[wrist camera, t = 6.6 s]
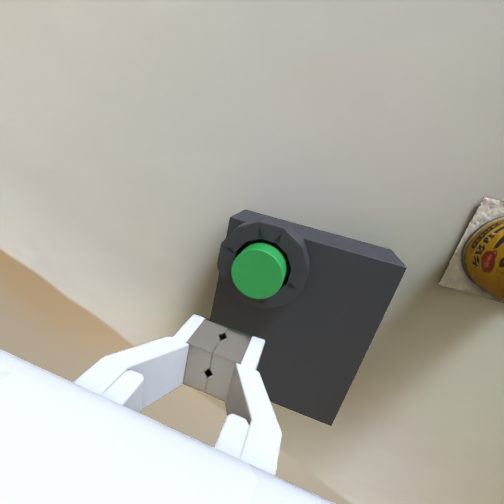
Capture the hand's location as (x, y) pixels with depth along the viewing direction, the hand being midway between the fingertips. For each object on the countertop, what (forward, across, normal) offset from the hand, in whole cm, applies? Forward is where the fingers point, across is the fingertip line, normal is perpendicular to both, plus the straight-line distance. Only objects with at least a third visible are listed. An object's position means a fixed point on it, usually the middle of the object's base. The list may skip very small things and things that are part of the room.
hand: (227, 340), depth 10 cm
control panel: (+15, -2, +6) cm, 16 cm away
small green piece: (+9, +1, 0) cm, 9 cm away
